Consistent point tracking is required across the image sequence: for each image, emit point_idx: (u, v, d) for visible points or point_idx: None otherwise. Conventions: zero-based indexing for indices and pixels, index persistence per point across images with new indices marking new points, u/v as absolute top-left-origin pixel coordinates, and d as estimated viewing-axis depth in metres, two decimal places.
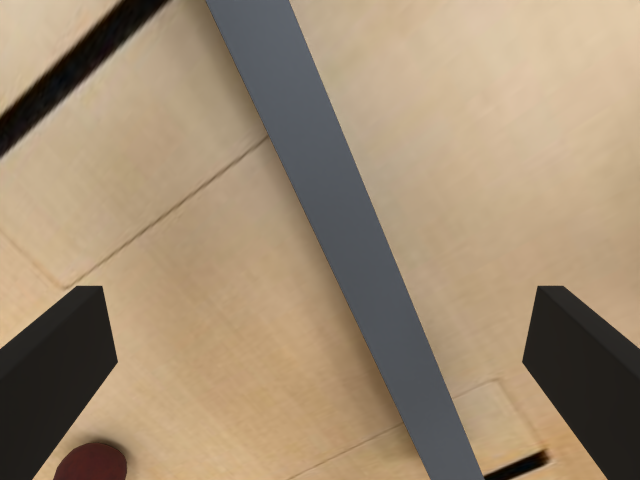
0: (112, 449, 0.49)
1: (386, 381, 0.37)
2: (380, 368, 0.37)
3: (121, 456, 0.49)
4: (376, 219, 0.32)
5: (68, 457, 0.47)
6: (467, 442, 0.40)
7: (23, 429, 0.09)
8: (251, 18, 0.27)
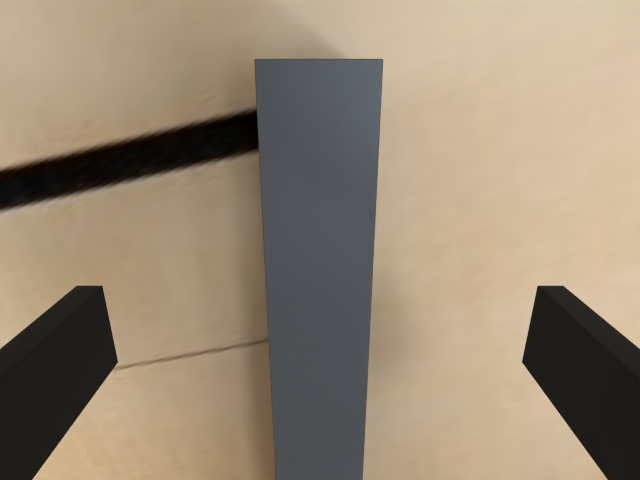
0: None
1: None
2: None
3: None
4: None
5: None
6: None
7: (24, 430, 0.09)
8: (314, 307, 0.20)
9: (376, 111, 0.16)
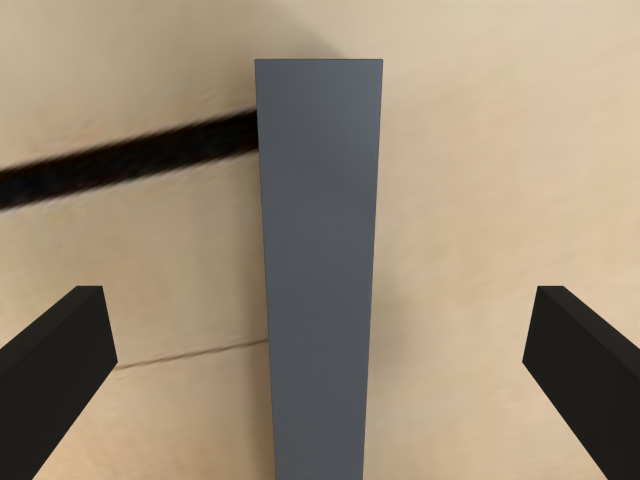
0: None
1: None
2: None
3: None
4: None
5: None
6: None
7: (23, 430, 0.09)
8: (314, 307, 0.20)
9: (376, 111, 0.16)
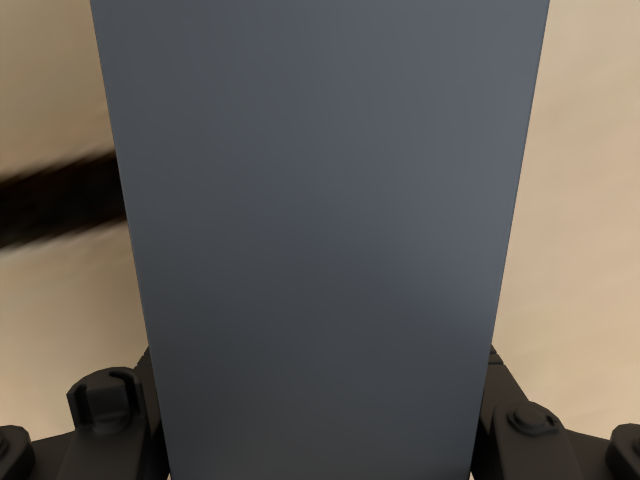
0: None
1: None
2: None
3: None
4: None
5: None
6: None
7: None
8: None
9: (510, 173, 0.05)
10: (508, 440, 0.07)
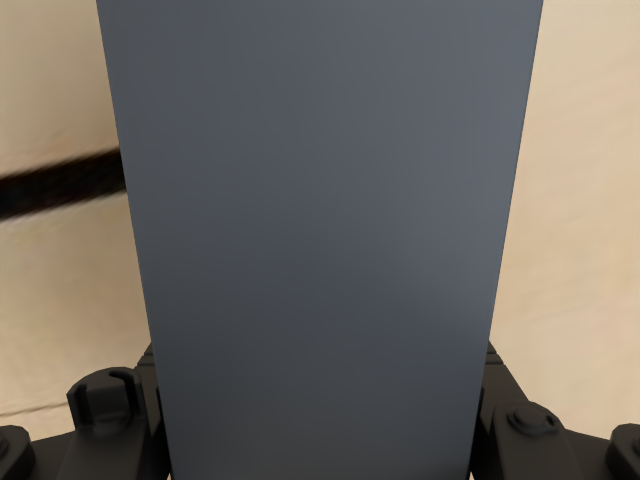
0: None
1: None
2: None
3: None
4: None
5: None
6: None
7: None
8: None
9: (505, 170, 0.05)
10: (508, 440, 0.07)
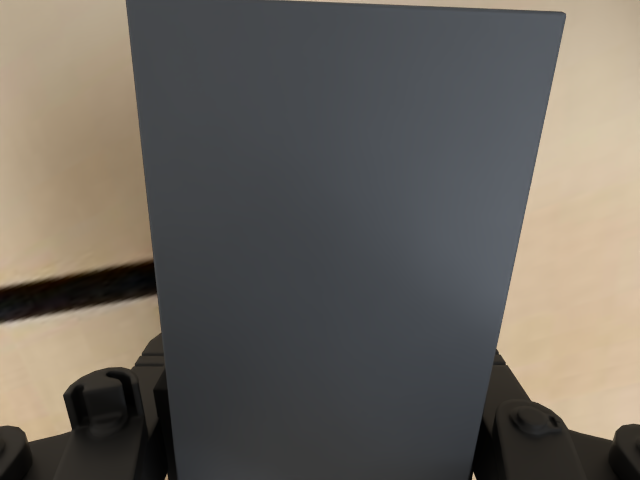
0: None
1: None
2: None
3: None
4: None
5: None
6: None
7: None
8: None
9: (520, 183, 0.05)
10: (511, 440, 0.07)
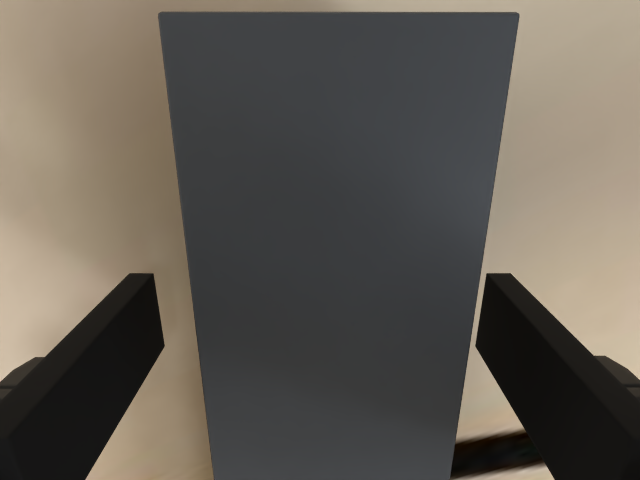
0: None
1: None
2: None
3: None
4: None
5: None
6: None
7: (98, 401, 0.10)
8: None
9: (489, 156, 0.06)
10: None
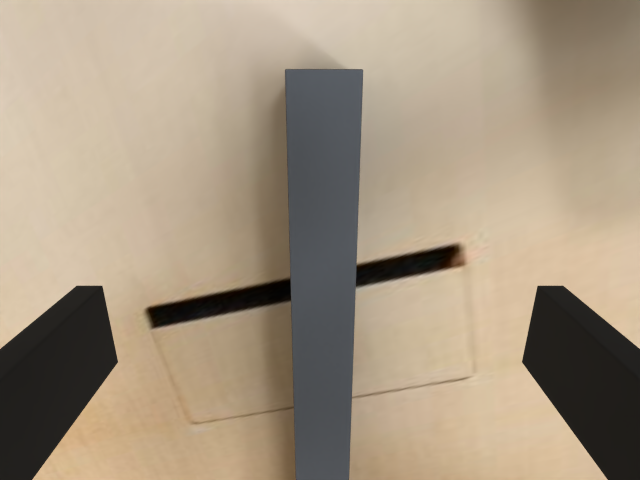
0: None
1: None
2: None
3: None
4: (349, 408, 0.35)
5: None
6: None
7: (24, 430, 0.09)
8: (320, 231, 0.30)
9: (359, 101, 0.27)
10: None
